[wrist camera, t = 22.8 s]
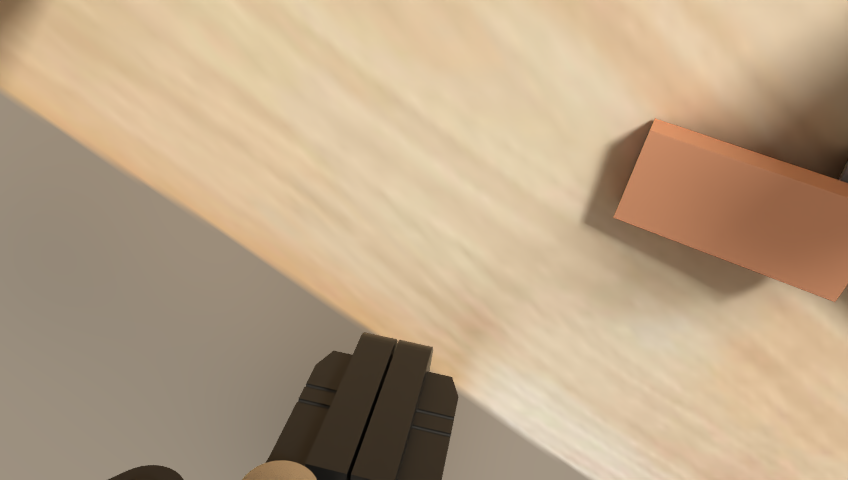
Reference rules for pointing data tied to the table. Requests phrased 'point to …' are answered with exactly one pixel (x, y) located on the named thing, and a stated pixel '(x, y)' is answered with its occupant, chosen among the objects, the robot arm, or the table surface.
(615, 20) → the table surface
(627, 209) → the domino
